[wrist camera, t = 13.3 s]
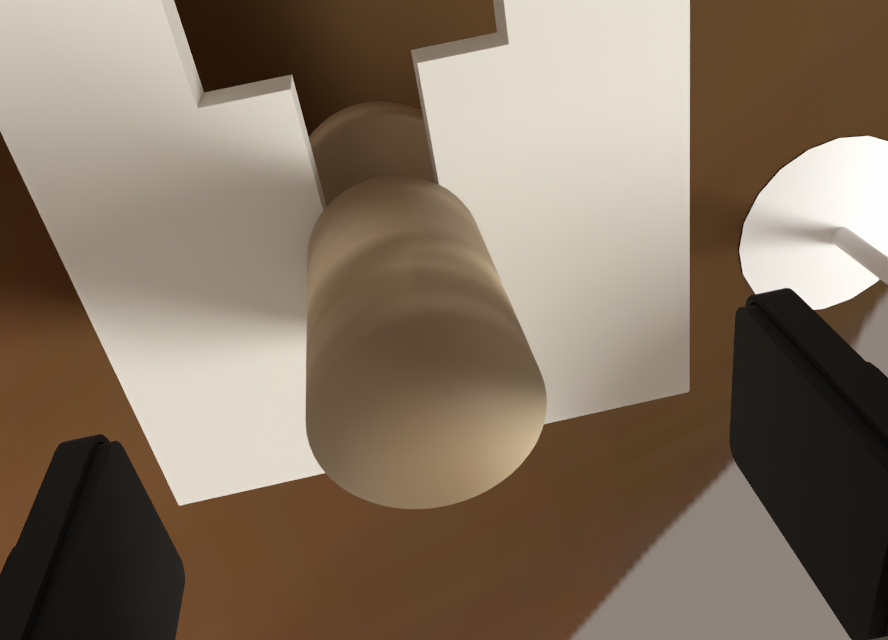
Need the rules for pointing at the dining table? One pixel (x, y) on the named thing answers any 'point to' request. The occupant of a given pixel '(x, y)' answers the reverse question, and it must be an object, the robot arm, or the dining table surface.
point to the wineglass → (821, 224)
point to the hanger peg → (408, 326)
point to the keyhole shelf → (302, 201)
